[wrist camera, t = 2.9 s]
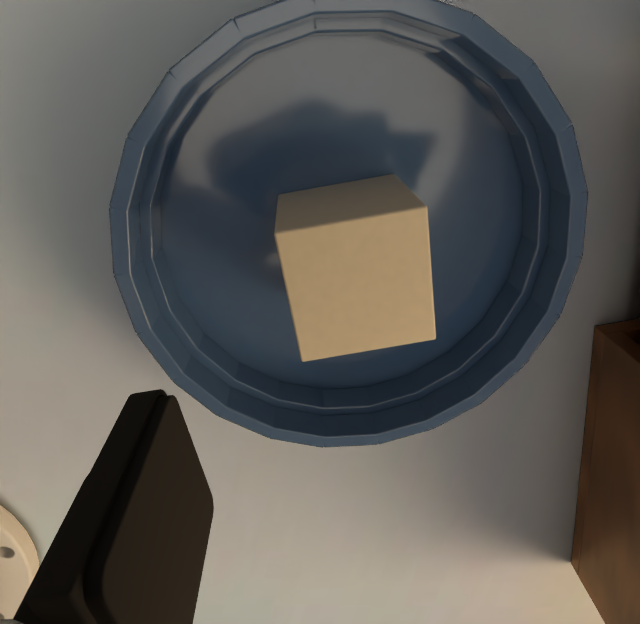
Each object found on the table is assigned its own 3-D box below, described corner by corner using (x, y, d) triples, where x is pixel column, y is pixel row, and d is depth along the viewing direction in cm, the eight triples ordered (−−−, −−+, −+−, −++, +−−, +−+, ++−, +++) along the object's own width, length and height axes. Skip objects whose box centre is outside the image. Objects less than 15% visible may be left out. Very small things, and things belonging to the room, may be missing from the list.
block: (299, 299, 21) (301, 363, 16) (277, 194, 19) (273, 232, 14) (404, 281, 20) (436, 340, 16) (394, 173, 18) (427, 205, 14)
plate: (202, 427, 24) (189, 476, 21) (70, 48, 16) (23, 42, 13) (536, 371, 23) (570, 413, 20) (552, -43, 16) (610, -68, 13)
